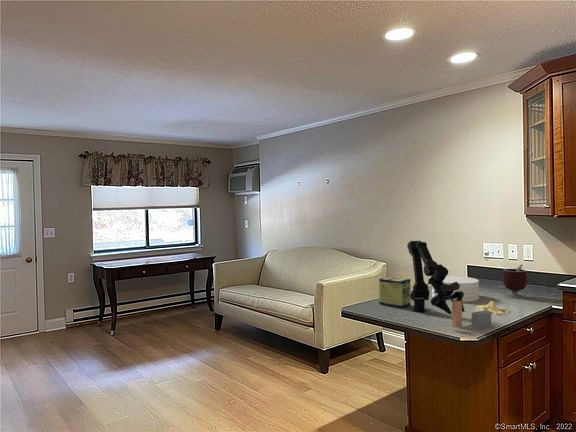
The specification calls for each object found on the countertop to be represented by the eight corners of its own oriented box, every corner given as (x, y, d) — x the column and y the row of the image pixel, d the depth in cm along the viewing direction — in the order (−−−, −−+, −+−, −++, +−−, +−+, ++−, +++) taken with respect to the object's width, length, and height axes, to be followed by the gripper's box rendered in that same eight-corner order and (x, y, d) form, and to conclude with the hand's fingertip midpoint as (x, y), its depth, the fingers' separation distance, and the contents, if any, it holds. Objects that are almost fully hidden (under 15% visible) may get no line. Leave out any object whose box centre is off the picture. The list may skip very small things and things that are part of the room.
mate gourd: (519, 300, 269) (519, 267, 268) (498, 296, 280) (498, 265, 280) (533, 297, 277) (533, 265, 277) (511, 293, 289) (511, 263, 288)
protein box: (402, 308, 251) (402, 281, 250) (378, 304, 261) (378, 278, 261) (411, 305, 258) (411, 278, 258) (387, 301, 269) (387, 276, 269)
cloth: (479, 306, 256) (479, 295, 256) (514, 311, 244) (514, 300, 244) (465, 313, 240) (465, 302, 240) (502, 319, 227) (502, 307, 227)
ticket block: (457, 328, 208) (457, 313, 208) (480, 323, 217) (480, 309, 217) (468, 331, 203) (468, 316, 203) (491, 326, 212) (491, 311, 212)
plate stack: (449, 291, 299) (449, 274, 299) (488, 298, 276) (488, 280, 275) (422, 296, 284) (422, 278, 283) (460, 304, 260) (460, 284, 260)
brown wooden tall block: (452, 326, 212) (452, 301, 211) (457, 325, 214) (457, 300, 213) (456, 327, 210) (456, 302, 209) (461, 326, 212) (461, 301, 211)
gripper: (435, 278, 211) (454, 305, 201) (461, 274, 220) (480, 300, 211) (422, 292, 218) (440, 318, 208) (448, 288, 227) (466, 313, 218)
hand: (457, 312), depth 211 cm, fingers open, 9 cm apart
